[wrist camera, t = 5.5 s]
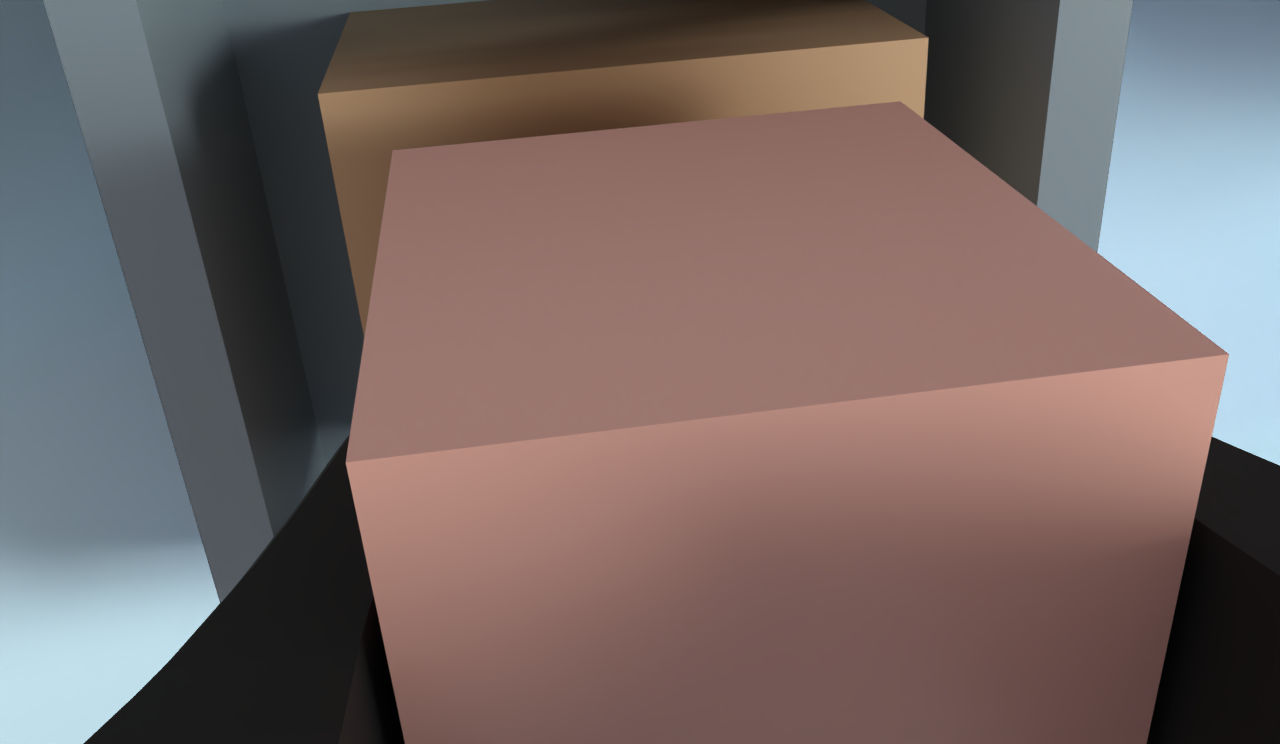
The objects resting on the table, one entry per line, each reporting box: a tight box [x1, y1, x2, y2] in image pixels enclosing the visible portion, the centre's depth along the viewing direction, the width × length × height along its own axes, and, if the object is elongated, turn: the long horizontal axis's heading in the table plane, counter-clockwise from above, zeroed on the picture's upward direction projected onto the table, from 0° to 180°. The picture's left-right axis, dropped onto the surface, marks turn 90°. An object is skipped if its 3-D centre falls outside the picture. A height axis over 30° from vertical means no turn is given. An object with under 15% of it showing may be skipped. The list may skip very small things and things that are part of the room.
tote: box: [43, 0, 1133, 603], centre depth 15 cm, size 11×11×4 cm
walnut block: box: [318, 0, 929, 337], centre depth 14 cm, size 6×6×4 cm
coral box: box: [346, 101, 1229, 744], centre depth 9 cm, size 4×6×5 cm
